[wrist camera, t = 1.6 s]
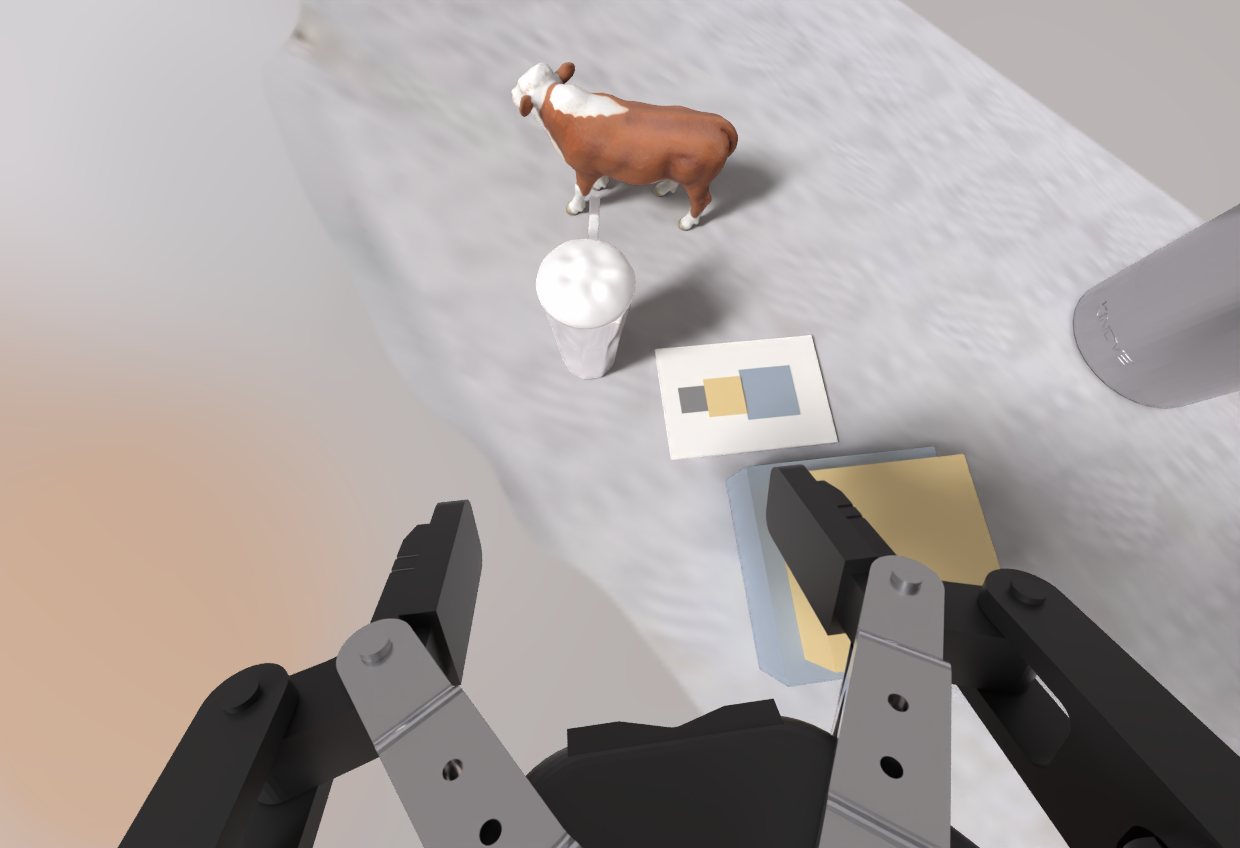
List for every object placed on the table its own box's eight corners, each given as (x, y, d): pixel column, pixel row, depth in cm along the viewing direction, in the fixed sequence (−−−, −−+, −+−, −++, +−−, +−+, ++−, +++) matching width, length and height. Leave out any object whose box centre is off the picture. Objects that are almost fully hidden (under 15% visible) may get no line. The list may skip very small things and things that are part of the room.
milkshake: (631, 316, 31) (646, 203, 22) (620, 394, 30) (631, 311, 20) (560, 306, 31) (544, 189, 22) (545, 384, 30) (521, 296, 20)
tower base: (890, 462, 29) (977, 430, 22) (940, 643, 26) (1057, 669, 20) (725, 480, 28) (765, 453, 22) (759, 669, 26) (817, 704, 19)
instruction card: (809, 337, 31) (811, 334, 31) (835, 443, 29) (838, 441, 29) (654, 351, 30) (655, 348, 30) (671, 460, 29) (672, 459, 28)
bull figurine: (530, 155, 34) (510, 33, 27) (718, 194, 34) (754, 83, 26) (513, 205, 33) (487, 93, 25) (708, 246, 33) (742, 146, 25)
